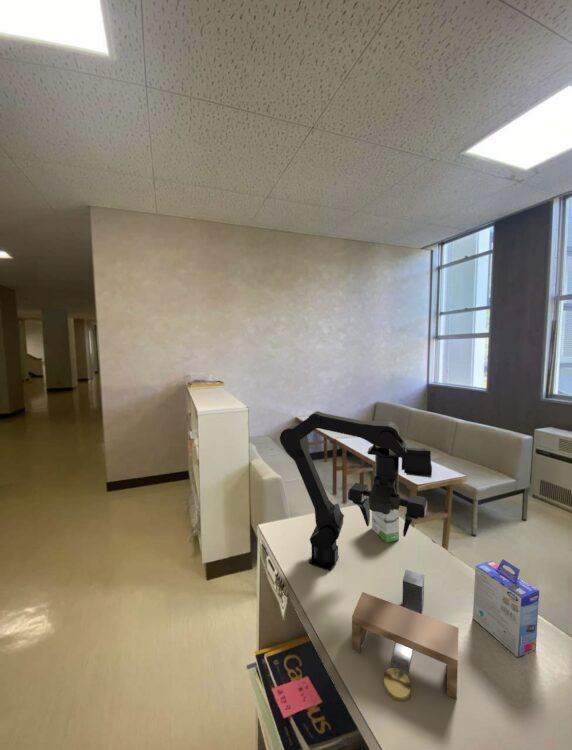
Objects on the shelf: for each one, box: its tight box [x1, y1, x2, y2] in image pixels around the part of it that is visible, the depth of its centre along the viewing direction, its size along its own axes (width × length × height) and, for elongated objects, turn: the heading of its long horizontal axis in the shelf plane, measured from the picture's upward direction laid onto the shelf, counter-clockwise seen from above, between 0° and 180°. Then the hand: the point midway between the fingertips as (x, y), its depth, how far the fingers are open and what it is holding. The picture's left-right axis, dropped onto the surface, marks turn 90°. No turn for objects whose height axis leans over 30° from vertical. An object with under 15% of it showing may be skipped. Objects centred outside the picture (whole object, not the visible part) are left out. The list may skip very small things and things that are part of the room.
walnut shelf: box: [351, 591, 460, 700], centre depth 59 cm, size 18×7×7 cm, turn 60°
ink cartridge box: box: [472, 558, 540, 657], centre depth 64 cm, size 10×6×14 cm, turn 20°
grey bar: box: [391, 569, 425, 674], centre depth 65 cm, size 4×18×7 cm, turn 150°
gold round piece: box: [383, 667, 412, 703], centre depth 54 cm, size 4×4×2 cm
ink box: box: [371, 509, 400, 543], centre depth 99 cm, size 9×5×12 cm, turn 15°
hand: (385, 530), depth 80 cm, fingers open, 9 cm apart
